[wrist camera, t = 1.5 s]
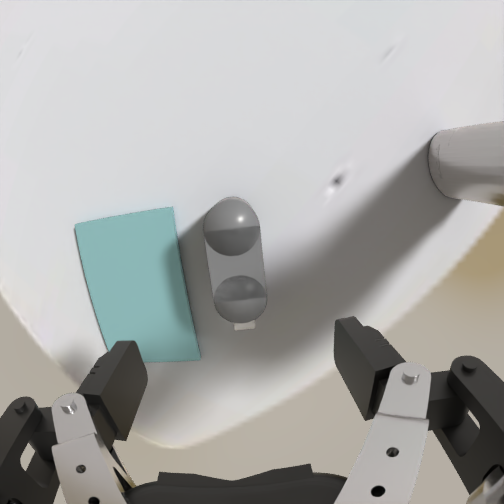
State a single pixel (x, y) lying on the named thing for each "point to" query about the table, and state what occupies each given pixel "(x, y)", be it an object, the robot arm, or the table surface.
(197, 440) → the table surface
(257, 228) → the plug block
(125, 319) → the mat
